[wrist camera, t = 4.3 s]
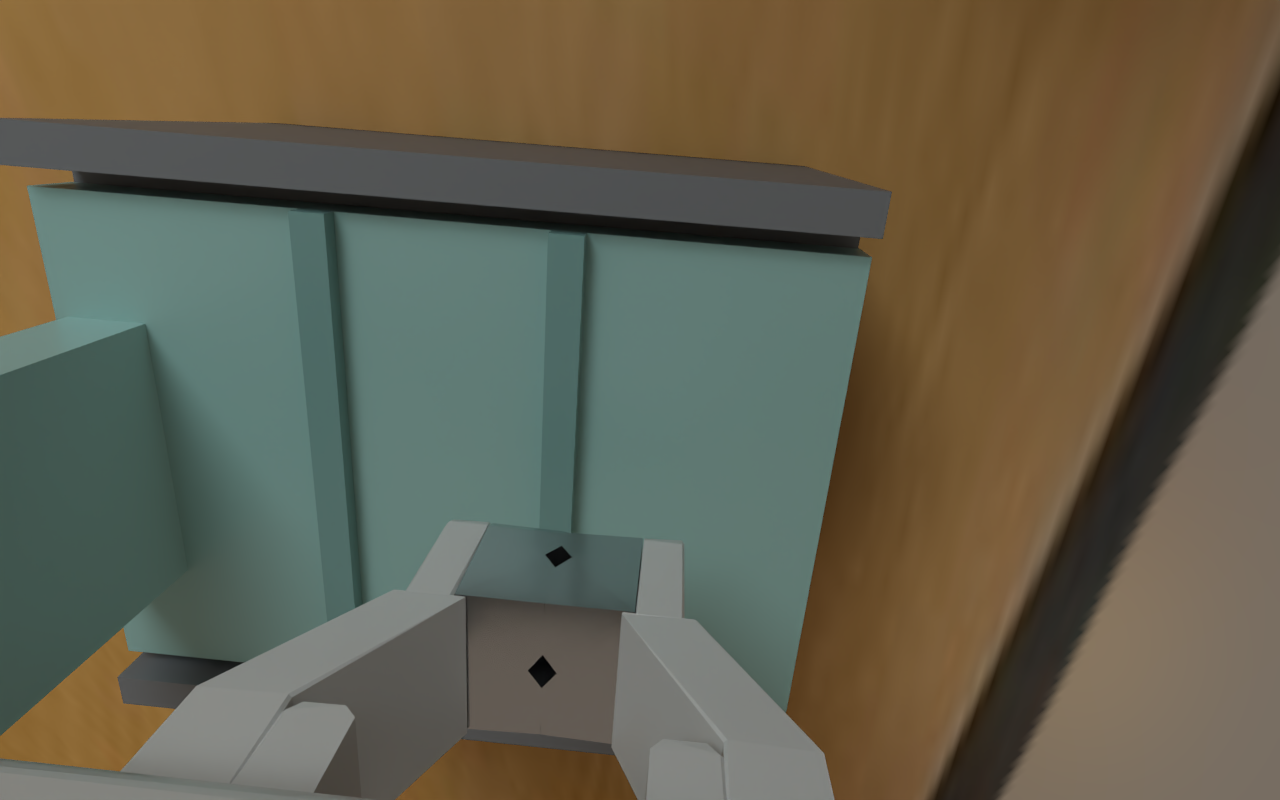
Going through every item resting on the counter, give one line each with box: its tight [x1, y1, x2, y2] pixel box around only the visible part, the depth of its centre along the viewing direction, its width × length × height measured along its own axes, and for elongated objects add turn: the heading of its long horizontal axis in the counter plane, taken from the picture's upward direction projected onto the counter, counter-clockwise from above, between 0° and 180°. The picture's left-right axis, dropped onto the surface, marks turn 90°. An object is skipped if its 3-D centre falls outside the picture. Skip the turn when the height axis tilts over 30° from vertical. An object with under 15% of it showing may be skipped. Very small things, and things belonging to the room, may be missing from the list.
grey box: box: [0, 118, 892, 755], centre depth 15 cm, size 10×12×7 cm
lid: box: [0, 182, 872, 735], centre depth 10 cm, size 8×12×6 cm
